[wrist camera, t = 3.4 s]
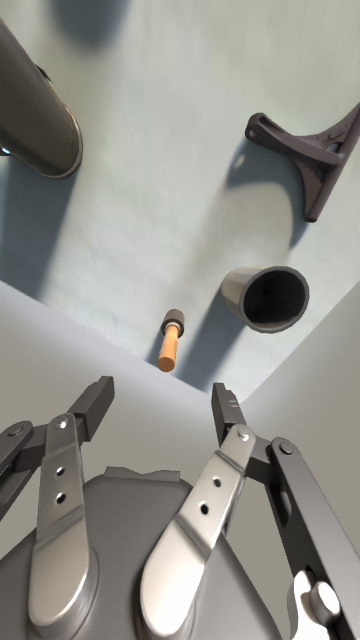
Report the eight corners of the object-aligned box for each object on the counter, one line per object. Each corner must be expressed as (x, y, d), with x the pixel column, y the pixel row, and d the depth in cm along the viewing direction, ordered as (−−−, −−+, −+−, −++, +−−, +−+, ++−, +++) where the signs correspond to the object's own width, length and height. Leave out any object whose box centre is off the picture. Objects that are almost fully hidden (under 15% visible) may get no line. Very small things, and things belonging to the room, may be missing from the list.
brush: (165, 326, 32) (148, 378, 17) (165, 308, 31) (147, 347, 16) (183, 327, 32) (182, 380, 17) (184, 309, 31) (184, 349, 16)
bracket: (268, 63, 21) (280, 33, 19) (369, 108, 22) (394, 87, 20) (224, 190, 25) (228, 181, 23) (310, 223, 26) (324, 219, 24)
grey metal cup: (217, 310, 31) (234, 331, 21) (222, 265, 29) (245, 264, 18) (260, 312, 31) (299, 335, 20) (269, 267, 29) (318, 267, 18)
